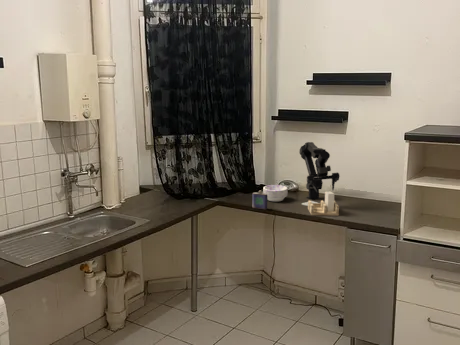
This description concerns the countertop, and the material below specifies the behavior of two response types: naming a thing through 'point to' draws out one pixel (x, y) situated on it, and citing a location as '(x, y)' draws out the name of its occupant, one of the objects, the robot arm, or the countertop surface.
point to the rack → (322, 209)
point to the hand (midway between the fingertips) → (325, 191)
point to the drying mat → (307, 203)
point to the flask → (259, 200)
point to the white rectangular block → (329, 200)
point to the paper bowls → (275, 192)
